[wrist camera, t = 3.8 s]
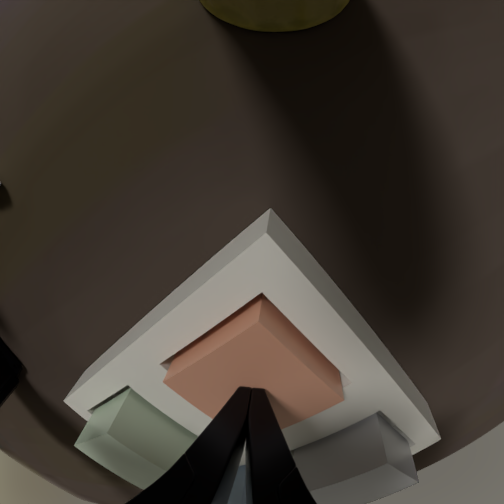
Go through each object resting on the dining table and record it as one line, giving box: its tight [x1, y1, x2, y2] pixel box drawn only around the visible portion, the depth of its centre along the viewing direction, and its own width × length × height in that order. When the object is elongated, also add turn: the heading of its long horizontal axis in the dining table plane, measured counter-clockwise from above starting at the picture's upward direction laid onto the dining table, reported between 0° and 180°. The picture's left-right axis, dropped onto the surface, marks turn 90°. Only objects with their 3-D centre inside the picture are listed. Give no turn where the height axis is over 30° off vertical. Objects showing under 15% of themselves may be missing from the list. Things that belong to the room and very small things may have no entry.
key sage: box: [74, 388, 198, 489], centre depth 11 cm, size 4×4×3 cm
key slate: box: [227, 465, 246, 504], centre depth 12 cm, size 4×4×3 cm
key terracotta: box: [163, 292, 344, 429], centre depth 10 cm, size 4×4×3 cm
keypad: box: [64, 208, 441, 466], centre depth 13 cm, size 15×15×3 cm
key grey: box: [294, 412, 419, 504], centre depth 10 cm, size 4×4×3 cm
